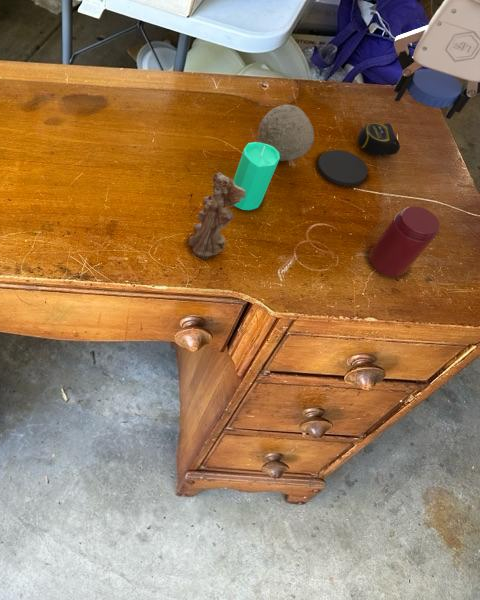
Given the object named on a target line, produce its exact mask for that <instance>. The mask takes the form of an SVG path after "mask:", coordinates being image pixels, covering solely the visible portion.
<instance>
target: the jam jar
mask: <svg viewBox="0 0 480 600" xmlns="http://www.w3.org/2000/svg"><path fill="white" fill-rule="evenodd" d="M439 229H440V221H439V219H438V217H437V216H436V215H435V214H434V213H433V212H432V211H430V210H428V209H426V208H425V207H421V206H417V205H416V206H414V205H413V206H412V205H411V206H406V207H404V208H403V209H402V210H401V211H400V212H398V213H397V214H395V217H394V218H393V219H392V220H391V222H390V223H389V224H388V226H387V227H386V229H385V230H384V232H383V233H382V234H381V235H380V237H379V239H378V240H377V241H376V243H375V244H374V246H373V247H372V249H371V250H370V251H369V252H368V261H369V263H370V265H371V267H372V268H373V269H374V270H376V271H377V272H379V273H380V274H382V275H384V276H387V277H401V276H403V275H405V274H406V273H407V272H408V270H409V269H410V268H411V267H412V266H413V264H414V263H415V262H416V261H417V260H418V258H420V256H421V255H422V254H423V252H424V251H425V250H426V249H427V247H428V246H429V245H430V244H431V243H432V242H433V240H434V239H435V238H436V237H437V234H438V231H439Z"/></svg>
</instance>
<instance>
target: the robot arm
mask: <svg viewBox="0 0 480 600" xmlns="http://www.w3.org/2000/svg"><path fill="white" fill-rule="evenodd" d="M414 43H417V44H416V46H415V48H414V51H413V54H412V53H411V51H410V49H409V47H408V45H410V44H414ZM393 46H394V49H395V53H396V55H397V60H398V63H399V65H400V67H401V70H402V71H401V73H402V74H400V75H401V76H400V77H399V78H398V80H397V83H396V84H395V86H394V88H393V92H395V93H396V94H395V97H394V99H393V101H394V102H397V103H398V102H401V99H402V98H403V96H404V94H405V93H406V91H407V88H408V86H409V84H410V82H411V81H412V79H413V76H414V74H415V73H416V72H417V71H419V70H421V68H422V67H424V68H425V69H432V70H435V71H439V72H442V73H445V74H448V75H451V76H453V77H454V78H457V79H462V80H464V81H467V82H466V83H464V85H461V86H462V90H461V93H460V95H459V96H458V98H457V100H456V101H455V103H454V104H452V105H451V106H448V107H447V110H446V112H445V116H444V117H445V118H446V119H448V120H451V119H452V117H453V116H454V114H455V113H461V111H463V109H464V107H465V106H466V104H467V103H469V101H470V99H471V98H473V97H475V96H476V95H478V94H480V0H443V1H442V3H441V4H440V5H439V7H438V8H437V10H436V12H435V13H434V14H433V16H432V18H431V19H430V21H429V22H428V23H427V25H425V26H422V27H419V28H416V29H413V30H411V31H408V32H404V33H402V34H400V35H397V36H396V37H395V39H394V40H393Z"/></svg>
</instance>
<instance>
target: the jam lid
mask: <svg viewBox="0 0 480 600" xmlns="http://www.w3.org/2000/svg"><path fill="white" fill-rule="evenodd" d="M462 86H463V85H462V84H461V82H460V81H459V80H458V78H456V77H454V76H451V75H448V74H445V73H442V72H439V71H435V70H432V69H429V68H423V69H418V70H417V71H415V73H414V76H413V79H412V81H411V82H410V84H409V86H408V88H407V89H406V91H407V93H408V94H409V96H410V97H411V98H412V99H414V101H416V102H418V103H420V104H422V105H424V106H427V107H431V108H436V109H437V108H438V109H443V108H448V106H451V105H452V104H454V103H455V101H456V100H457V98H458V96H459V95H460V93H461V90H462Z"/></svg>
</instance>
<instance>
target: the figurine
mask: <svg viewBox="0 0 480 600" xmlns="http://www.w3.org/2000/svg"><path fill="white" fill-rule="evenodd" d="M233 180H234V178H230V176H226V175H224V174H223V173H221V172H220V171H219V172H217V173H214V174H213V176H212V180H211V182H212V184H213V190H212V192H213V193H211V194H210V195H208V196H204V197H203V201H202V205H203V209H201V210H199V211H198V212H197V214H198V216H197V220H198V221H199V222H197V223H195V224H194V225H193V231H194V235H191V236H189V237H188V243H189V244H188V245H189V246H191V250H192V252H193V253H194V255H196V256H197V257H199V258H202V259H208V258H212V257H213V256H216V255H217V254H219V253H223V249H224V248H225V247H226V242H225V241H226V238H225V236H224V235H222V233H221V232H220V231H222V230H224V229H225V228H226V227H227V226H228V224H229V223H230V222H231V221H233V220H234V213H233V212H232V211H231V210H230V209H232V208H233V207H235V206H234V205H235V204H236V203H239V202H240V201H241V198H244V197H245V196H246V193H245V192H246V191H245V190H244V189H243V188H242V187H241V188H240V187H238V186H237V185H235V182H233ZM227 207H228V208H227Z"/></svg>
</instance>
